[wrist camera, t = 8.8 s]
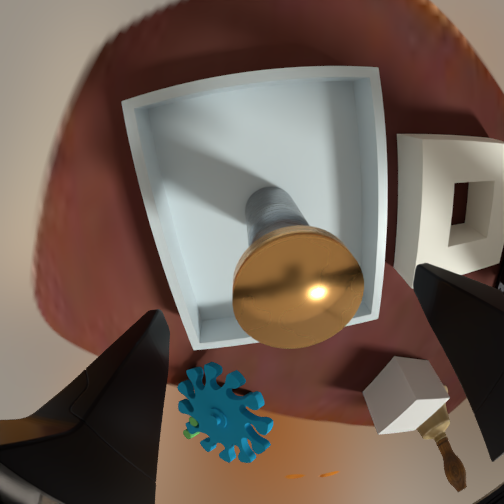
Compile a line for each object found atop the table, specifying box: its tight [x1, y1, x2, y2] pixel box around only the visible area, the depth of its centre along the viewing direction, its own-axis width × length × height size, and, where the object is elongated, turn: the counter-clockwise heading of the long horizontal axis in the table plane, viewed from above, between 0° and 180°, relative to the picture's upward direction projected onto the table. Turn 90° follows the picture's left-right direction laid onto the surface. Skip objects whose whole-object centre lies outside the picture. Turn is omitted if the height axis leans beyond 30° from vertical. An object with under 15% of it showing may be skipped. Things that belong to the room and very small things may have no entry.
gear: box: [177, 362, 273, 463], centre depth 24 cm, size 11×6×10 cm
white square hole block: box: [394, 134, 504, 288], centre depth 17 cm, size 10×10×3 cm
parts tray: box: [121, 66, 388, 350], centre depth 16 cm, size 13×16×3 cm
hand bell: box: [417, 385, 467, 492], centre depth 24 cm, size 8×8×16 cm
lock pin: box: [232, 186, 364, 349], centre depth 13 cm, size 4×4×9 cm
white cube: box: [362, 356, 450, 434], centre depth 24 cm, size 6×6×6 cm
